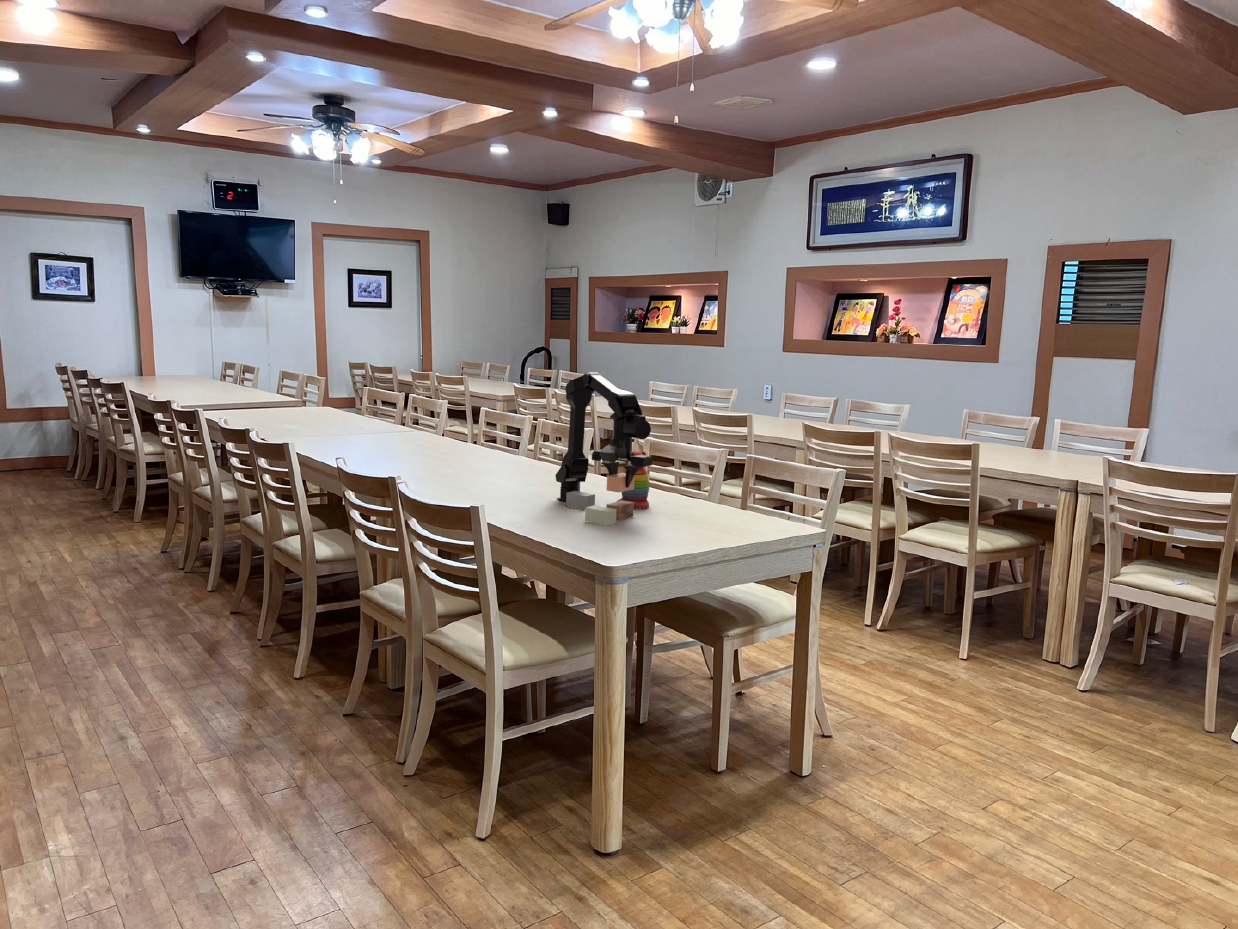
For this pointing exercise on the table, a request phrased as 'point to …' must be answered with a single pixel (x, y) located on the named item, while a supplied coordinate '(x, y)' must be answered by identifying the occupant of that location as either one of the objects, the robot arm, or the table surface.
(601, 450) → the robot arm
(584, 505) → the slate block
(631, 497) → the stacking bear
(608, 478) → the terracotta block
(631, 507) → the walnut block
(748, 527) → the table surface
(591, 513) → the sage block
